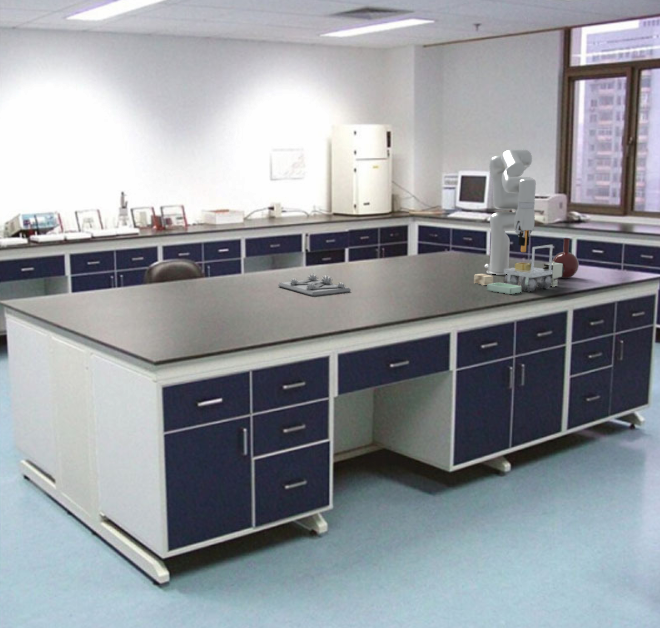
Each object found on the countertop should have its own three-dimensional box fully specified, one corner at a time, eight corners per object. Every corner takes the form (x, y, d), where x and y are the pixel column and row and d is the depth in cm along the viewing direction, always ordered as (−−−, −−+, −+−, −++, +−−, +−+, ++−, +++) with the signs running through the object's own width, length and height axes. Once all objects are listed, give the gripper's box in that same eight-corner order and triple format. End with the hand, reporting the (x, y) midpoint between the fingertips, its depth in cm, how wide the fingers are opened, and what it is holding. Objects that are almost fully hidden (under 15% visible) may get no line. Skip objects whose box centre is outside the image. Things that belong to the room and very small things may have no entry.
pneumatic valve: (563, 285, 421) (565, 261, 418) (549, 288, 413) (550, 263, 411) (553, 284, 425) (555, 259, 422) (539, 287, 417) (540, 261, 415)
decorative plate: (277, 287, 412) (276, 272, 411) (315, 283, 424) (315, 269, 423) (312, 298, 388) (312, 282, 387) (352, 293, 400) (352, 277, 399)
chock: (473, 283, 426) (474, 274, 425) (482, 282, 429) (482, 273, 428) (484, 286, 419) (484, 276, 418) (492, 285, 422) (493, 276, 421)
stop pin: (518, 251, 412) (519, 228, 410) (522, 250, 414) (523, 227, 412) (524, 252, 410) (525, 229, 407) (528, 251, 412) (529, 228, 409)
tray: (486, 290, 406) (487, 284, 406) (497, 288, 412) (498, 282, 411) (510, 294, 397) (510, 288, 396) (521, 292, 402) (521, 286, 402)
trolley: (501, 288, 414) (504, 243, 409) (522, 284, 424) (524, 241, 420) (532, 293, 401) (534, 247, 397) (552, 289, 412) (555, 244, 408)
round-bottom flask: (583, 279, 441) (586, 239, 437) (564, 281, 435) (566, 240, 430) (564, 275, 452) (566, 236, 448) (545, 277, 446) (547, 237, 442)
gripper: (529, 203, 415) (527, 242, 419) (508, 206, 405) (506, 245, 409) (543, 205, 410) (540, 244, 414) (522, 207, 399) (520, 247, 403)
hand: (523, 244), depth 411 cm, fingers closed on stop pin, 2 cm apart
